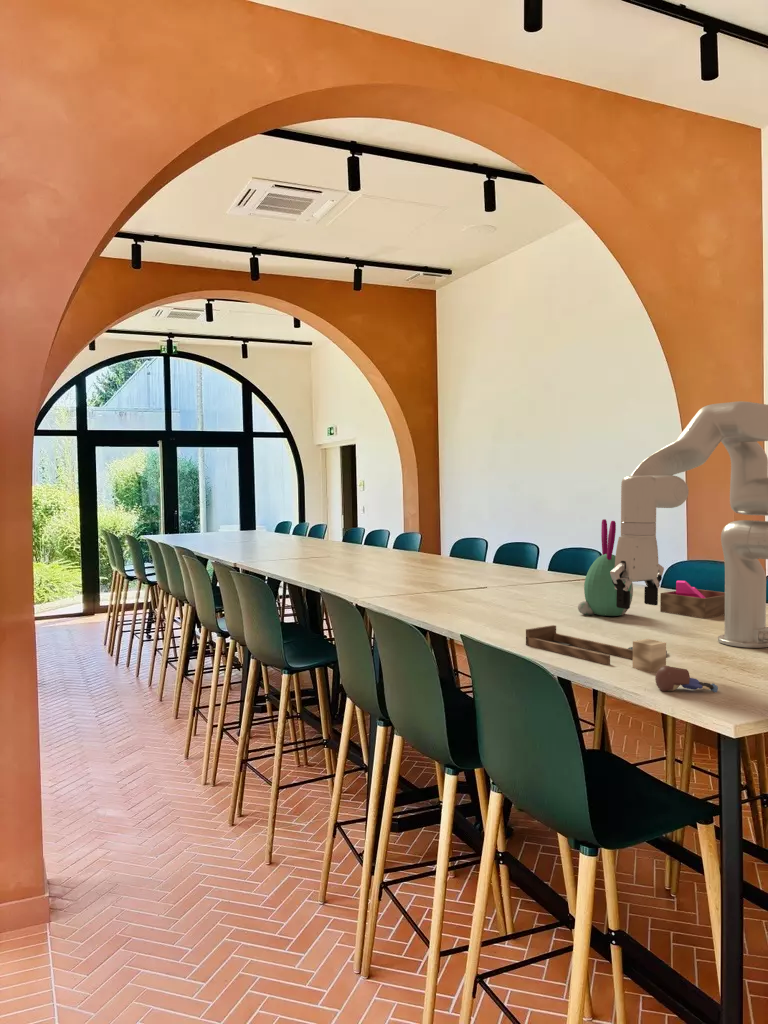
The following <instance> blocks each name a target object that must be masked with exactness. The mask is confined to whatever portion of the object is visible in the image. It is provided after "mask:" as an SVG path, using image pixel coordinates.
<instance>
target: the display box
mask: <svg viewBox="0 0 768 1024" xmlns="http://www.w3.org/2000/svg"><path fill="white" fill-rule="evenodd" d="M696 589H697V590H698V591H699V592H700V593H701V594H702V595H703V596H704V597H705V598H697V597H689V596H682V595H676V590H673V591H667V592H660V601H659V602H660V606H659V607H660V612H662V613H667V614H668V613H669V614H674V615H682V616H687V617H694V618H701V619H709V618H714V617H719V616H725V591H724V592H723V591H716V590H715V591H714V590H709V589H706V590H705V589H698V588H696Z"/></svg>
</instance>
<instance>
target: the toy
mask: <svg viewBox="0 0 768 1024" xmlns="http://www.w3.org/2000/svg"><path fill="white" fill-rule="evenodd" d="M609 524H610V525H609V530H608V521H607V519H605V518H604V519H602V520H601V530H600V532H601V552H602V553H601V554H602V555H600V556H598V557H597V558H596V559H595V560H594V561H593V563H592V564H591V565H590V566H589V569H588V571H587V574H586V575H585V579H584V585H583V589H584V598H585V600H583V601H581V602H579V603H578V605H577V610H578V612H579V613H580V614H582V615H586V616H589V615H590V616H591V615H598V616H603V617H604V616H606V617H607V616H608V617H617V616H622V615H625V614H626V613H627V611H628V610H629V609H623V608H618V607H617V606H616V604H617V590H616V589H615V586H614V584H613V583H612V578H611V575H610V571H611V570H613V569H614V568H615V557H616V554H613V552H614V546H615V539H616V531H617V529H616V528H617V527H616V526H617V525H616V521H615V520H611V521H610V523H609ZM623 583H624V584H625V582H623ZM627 591H630V606H631V605H632V601H633V596H634V584H633V582H632V583H631V585H630V587H629V589H628V590H627Z"/></svg>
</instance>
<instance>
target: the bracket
mask: <svg viewBox="0 0 768 1024" xmlns="http://www.w3.org/2000/svg"><path fill="white" fill-rule="evenodd" d="M697 589H698V588H697V587H695V586H691V584H690V583H689V582H687V581H686V580H676V582H675V591H676V595H682V596H689V597H697V598H705V597H704V596H703V595H702V594H701V593H700V592H699V591H698V590H697Z"/></svg>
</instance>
